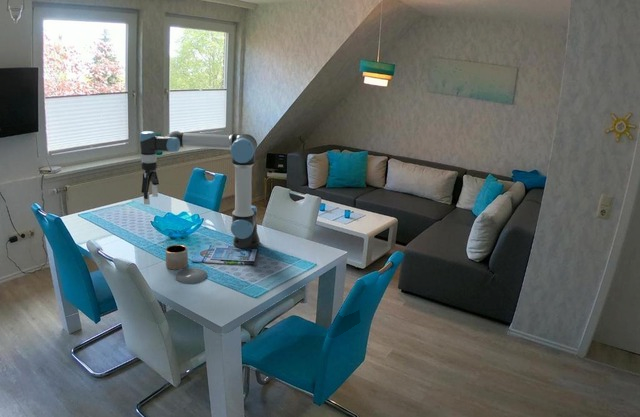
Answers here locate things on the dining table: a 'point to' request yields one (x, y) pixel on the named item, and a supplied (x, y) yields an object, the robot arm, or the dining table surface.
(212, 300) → the dining table surface
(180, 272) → the saucer
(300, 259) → the dining table surface
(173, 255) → the planter
